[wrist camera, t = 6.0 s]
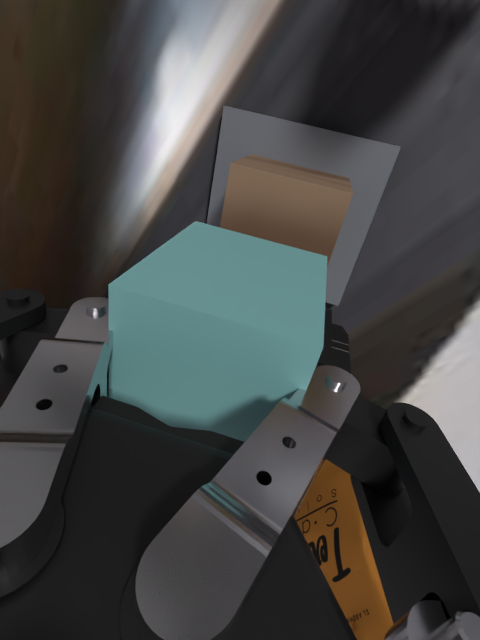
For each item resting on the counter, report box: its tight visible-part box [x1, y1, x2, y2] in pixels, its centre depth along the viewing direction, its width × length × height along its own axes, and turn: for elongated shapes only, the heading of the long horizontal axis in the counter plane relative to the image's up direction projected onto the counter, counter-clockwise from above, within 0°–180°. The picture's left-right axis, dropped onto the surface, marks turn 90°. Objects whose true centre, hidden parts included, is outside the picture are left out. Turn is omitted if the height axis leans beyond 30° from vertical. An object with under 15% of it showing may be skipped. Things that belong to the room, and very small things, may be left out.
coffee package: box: [295, 460, 393, 640], centre depth 28 cm, size 10×12×22 cm
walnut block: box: [220, 154, 353, 267], centre depth 24 cm, size 7×7×6 cm
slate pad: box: [207, 106, 401, 306], centre depth 27 cm, size 12×12×1 cm
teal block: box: [109, 221, 327, 442], centre depth 12 cm, size 5×5×6 cm
